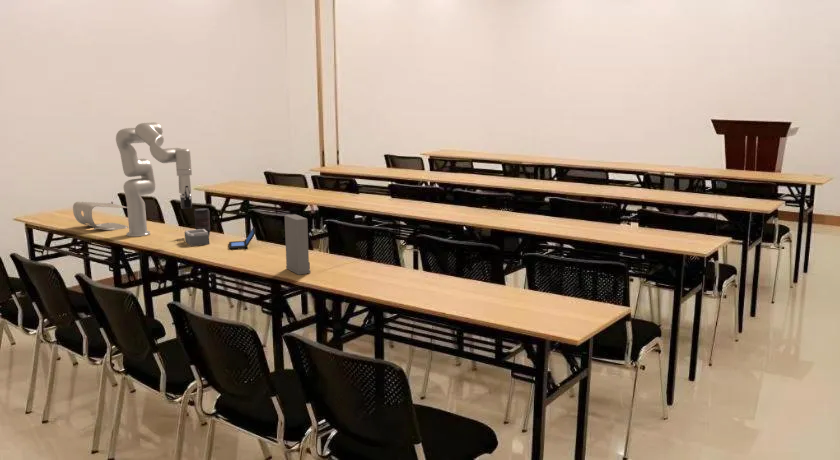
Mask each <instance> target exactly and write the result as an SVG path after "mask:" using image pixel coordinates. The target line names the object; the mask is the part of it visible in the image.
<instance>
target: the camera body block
mask: <svg viewBox="0 0 840 460" xmlns="http://www.w3.org/2000/svg"><path fill="white" fill-rule="evenodd" d="M184 242H185V243H186V244H188V245H189V246H190V247H194V246H204V245H210V235H208V232H207V231H206V230H205V229H197V230H196V229H188V230H185V231H184Z"/></svg>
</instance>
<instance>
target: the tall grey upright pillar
mask: <svg viewBox="0 0 840 460" xmlns="http://www.w3.org/2000/svg"><path fill="white" fill-rule="evenodd" d="M308 227H309V223H308V218H307V217H303V216H301V215H298V214H287V215H286V214H285V215H284V232H285V233H284V234H285V235H284V236H285V239H284V241H285V259H286V265H285V268H286V269H287V270H289V271H291V272H292V273H295V274H296V275H298V276H301V275H304V274H307V273H309V274H311V271H312V270H311V266H310V264H311V263H310V260H309V259H310V257H309V232H308V231H309V229H308Z"/></svg>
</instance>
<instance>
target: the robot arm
mask: <svg viewBox="0 0 840 460" xmlns="http://www.w3.org/2000/svg"><path fill="white" fill-rule="evenodd" d="M163 133H164V132H163V127H162V126H161V125H160V124H159V123H157V122H141V123H138V124H137V125H136V126H135V127H127V128H126V127H125V128H122V129H120V130H118V131H117V133H116V135H115V143H116V146H117V149H118V151H119V154H120V159H121V164H122V165H121V166H122V171H123V174H124V175H125V176H126V177H128V178H129V177H130V178H131V177H132V178H133V177H139V178H133V179H128V180H126V181H124V183H123V191H124V195H125V201H126V207H127V208H126V209H127V210H126V211H127V221H128V232H126V236H127V237H144V236H148V235H150V234H151V231H149V230H148V226H147V224H148V223H147V214H146V203H145V201H144V199H143V198H142V196H145V195H151V194H153V193H154V192H155V191H156V181H155V175H154V169H153V166H152V163H151V162H150V160H149V159H147V158H138V154H137V150H136V149H135V148H134V146H133V145H132V144H142V143H143V144H144V143H145V144H147V145H148V146H149V151H150V152H149V153H150V154H151V156H152V157H153V158H154V159H155V160H157V161H158V162H159V163H162V164H171V163H175V168H176V177H178V193H179V195H184V199H185V200H184V207H185V208H186V207H191V201H190V194H191V195H192V186H191V176H192V175H193V174H192V159H191V150H190V149H189V148H180V147H172V148H171V147H168V148H162V146H163V143H164V142H165V140H164V136H163ZM140 177H141V178H140ZM185 195H186V196H185Z"/></svg>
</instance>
